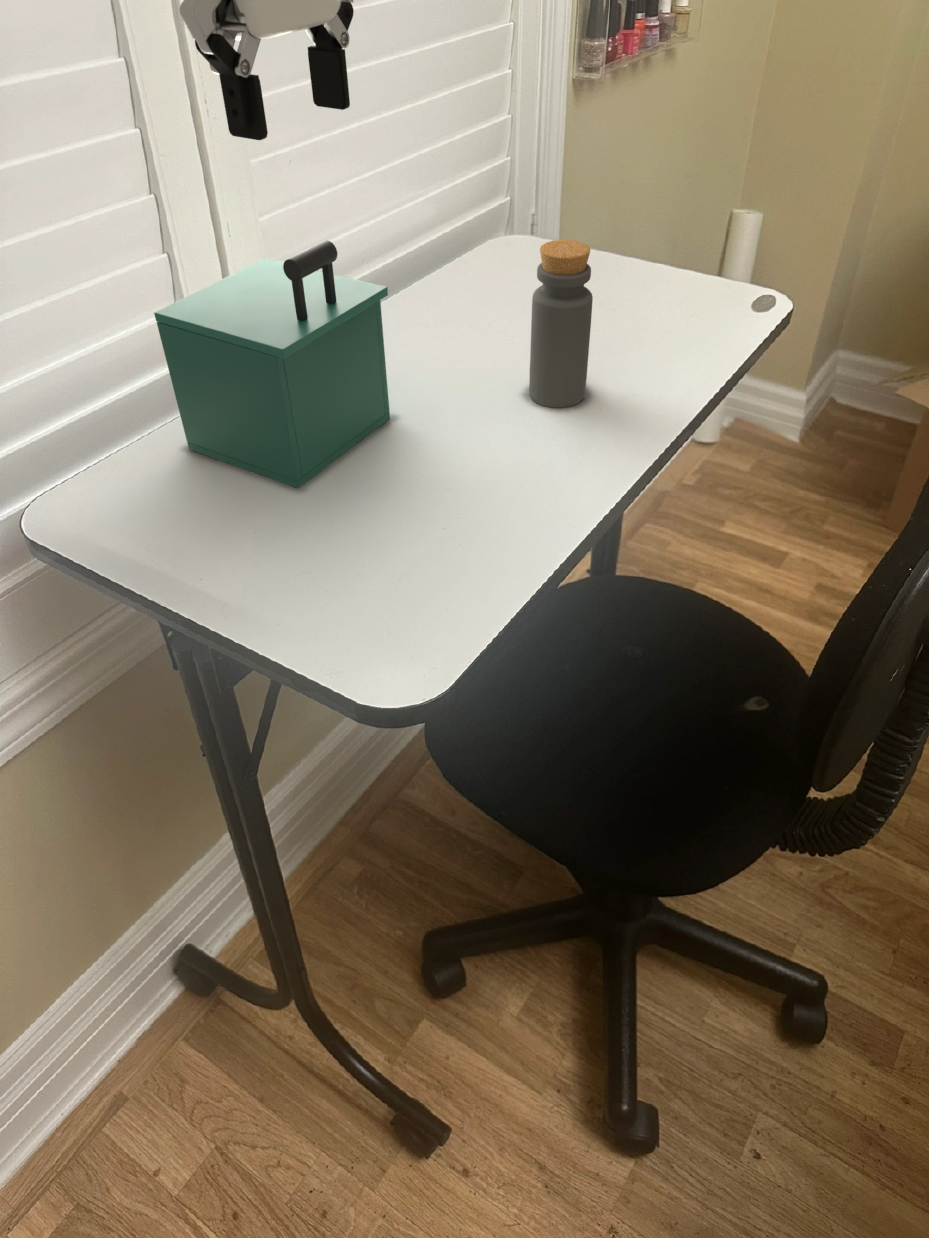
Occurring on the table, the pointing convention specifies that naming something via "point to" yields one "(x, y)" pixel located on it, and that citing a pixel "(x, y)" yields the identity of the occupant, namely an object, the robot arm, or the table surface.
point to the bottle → (561, 325)
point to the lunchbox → (280, 397)
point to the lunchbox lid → (275, 303)
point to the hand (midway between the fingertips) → (292, 121)
